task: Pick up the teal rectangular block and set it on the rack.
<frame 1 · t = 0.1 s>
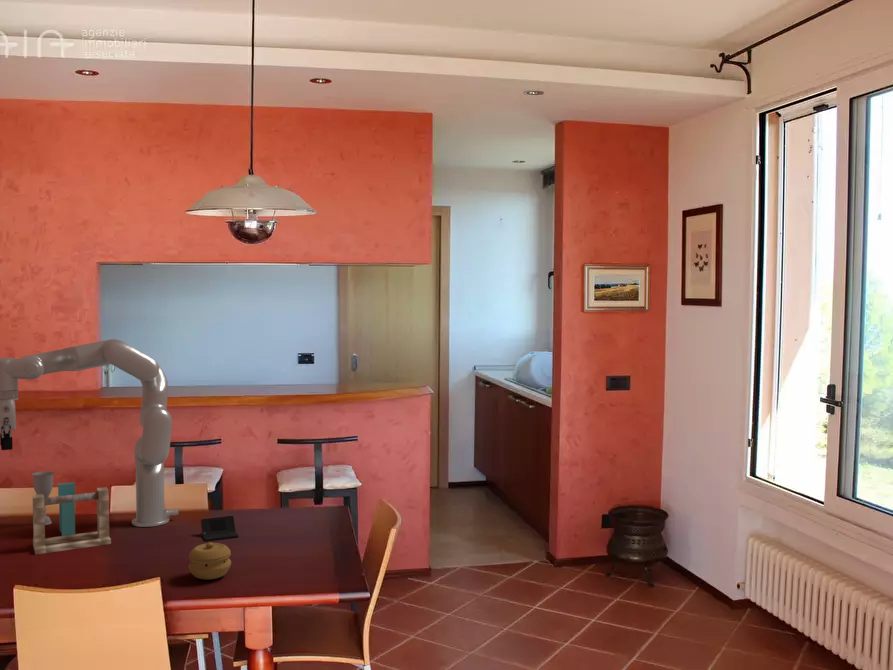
hand: (6, 447, 261), 31 cm above the table, fingers open, 9 cm apart
pot: (210, 577, 229), on the table
chalice: (44, 523, 284), on the table
handheld gaming console: (219, 537, 269), on the table
rack: (71, 544, 259), on the table
teal rectangular block: (67, 532, 272), on the table
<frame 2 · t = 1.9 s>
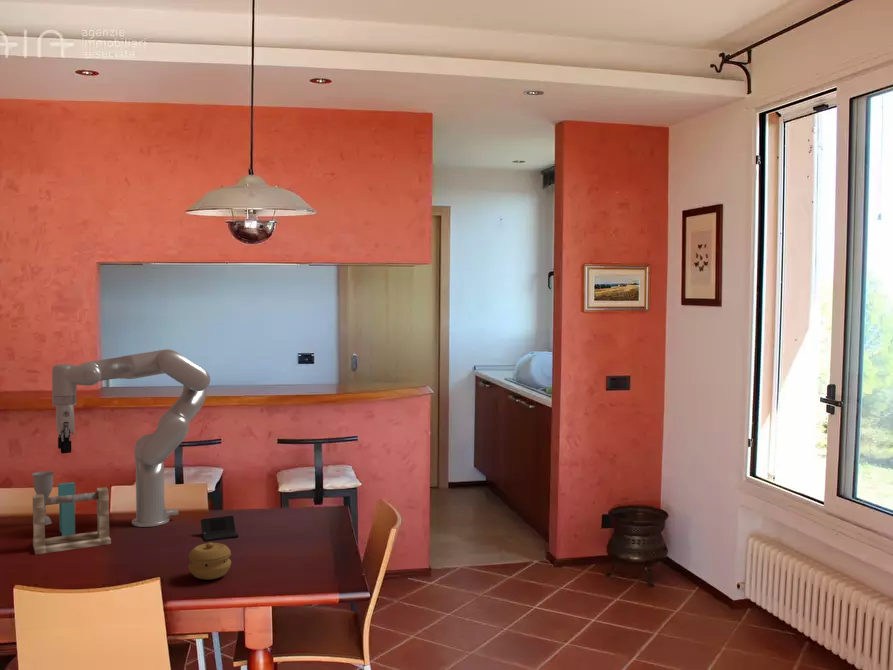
hand: (64, 450, 271), 28 cm above the table, fingers open, 9 cm apart
nothing on the table moved.
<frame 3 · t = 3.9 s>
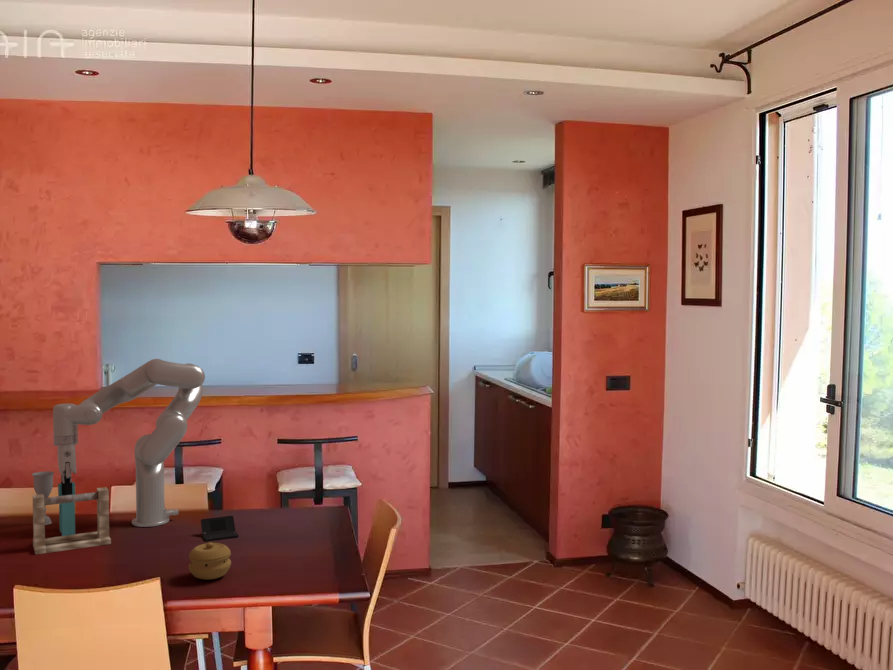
hand: (66, 493, 272), 14 cm above the table, fingers closed on teal rectangular block, 2 cm apart
teal rectangular block: (67, 532, 272), on the table, touching gripper
everything else where it was.
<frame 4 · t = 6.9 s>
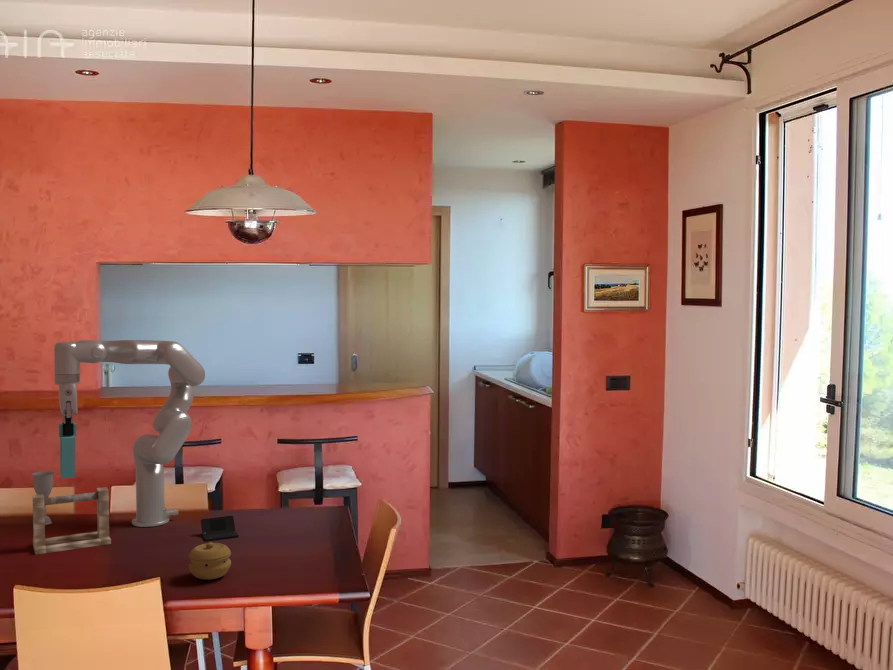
hand: (67, 434, 262), 35 cm above the table, fingers closed on teal rectangular block
teal rectangular block: (67, 475, 263), point 22 cm above the table, touching gripper
everything else where it was.
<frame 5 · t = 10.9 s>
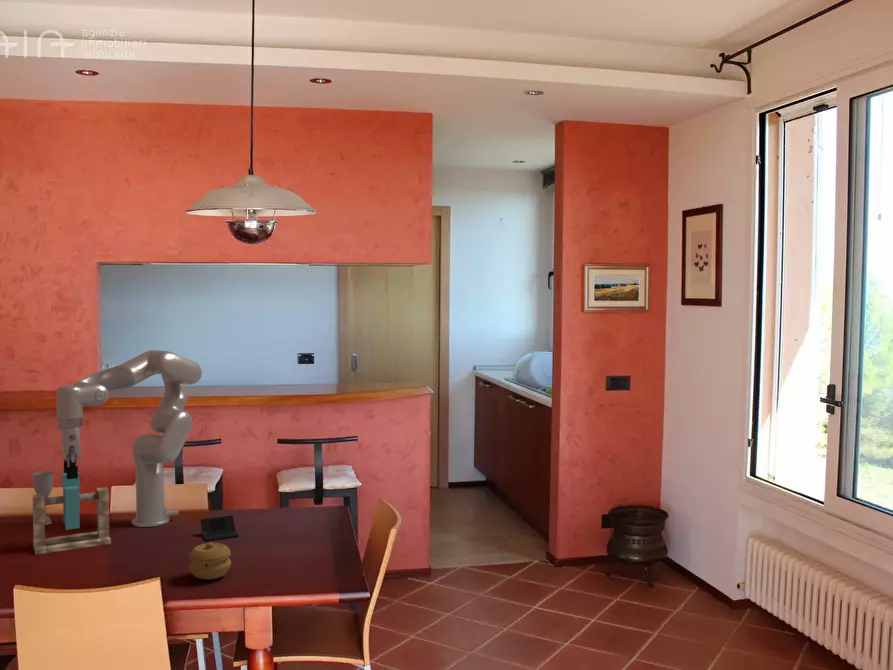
hand: (70, 475, 258), 22 cm above the table, fingers open, 9 cm apart
teal rectangular block: (71, 525, 259), point 6 cm above the table, touching rack
everything else where it was.
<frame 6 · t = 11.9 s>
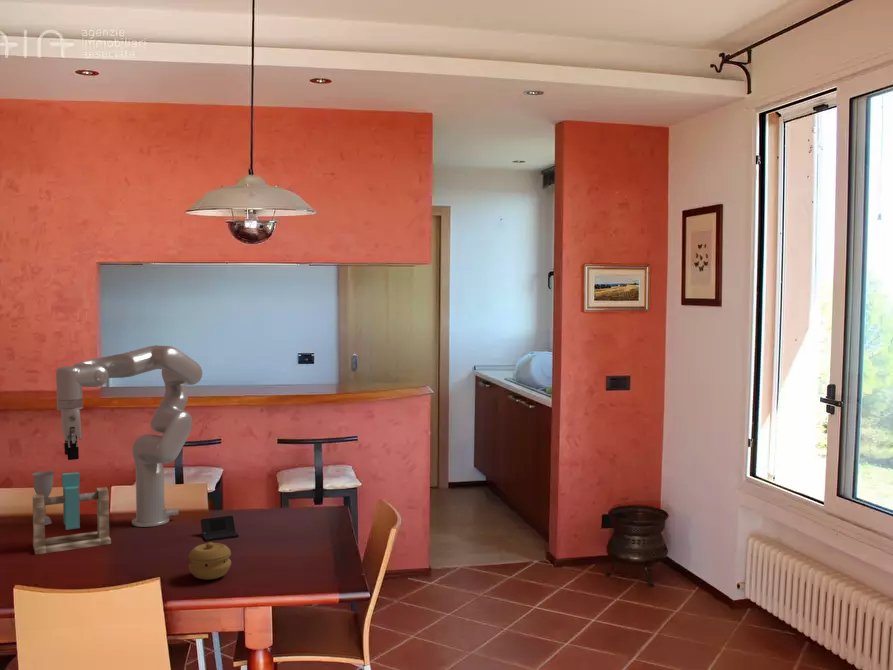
hand: (71, 456, 259), 29 cm above the table, fingers open, 9 cm apart
nothing on the table moved.
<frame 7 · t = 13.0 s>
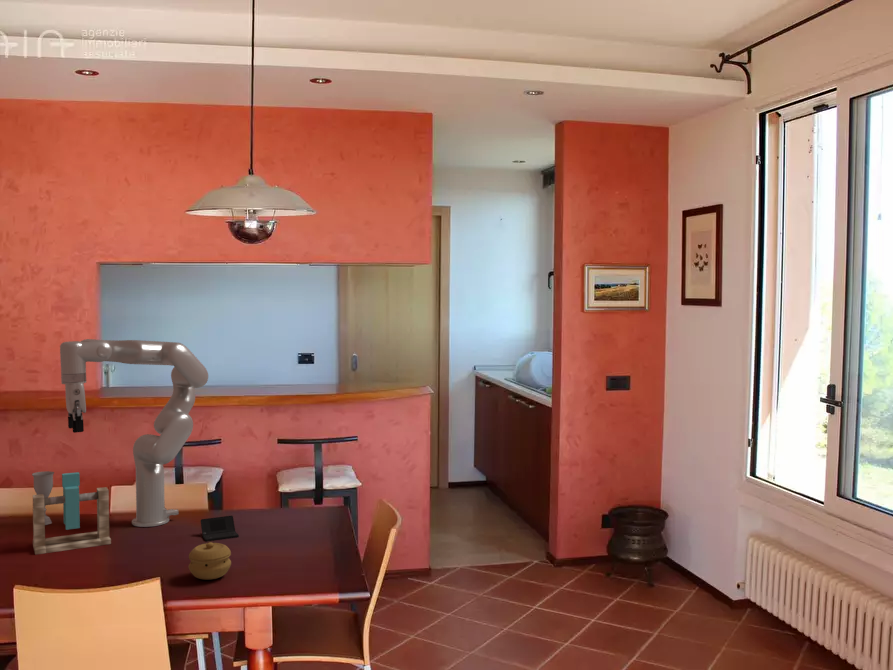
hand: (75, 430, 264), 37 cm above the table, fingers open, 9 cm apart
nothing on the table moved.
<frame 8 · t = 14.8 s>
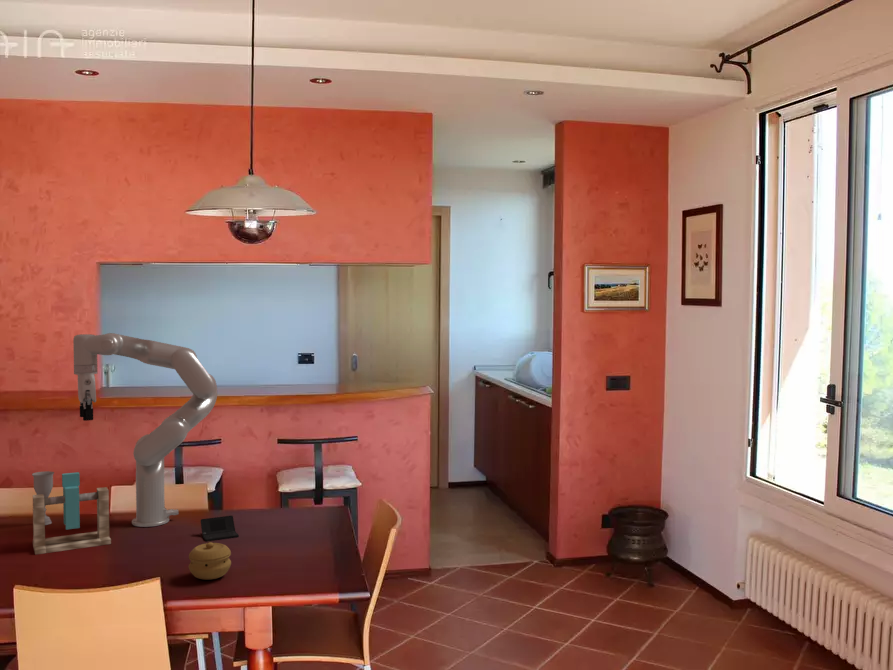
hand: (86, 418, 278), 38 cm above the table, fingers open, 9 cm apart
nothing on the table moved.
at the end: teal rectangular block 0.1 cm off-centre on the rack, point 6.2 cm above the rack's base; teal rectangular block touching rack; the gripper is holding nothing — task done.
